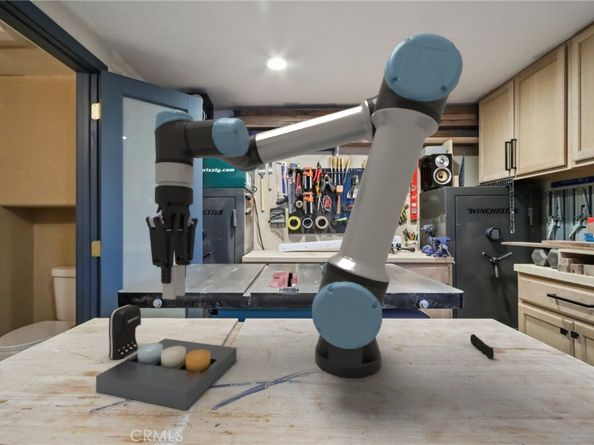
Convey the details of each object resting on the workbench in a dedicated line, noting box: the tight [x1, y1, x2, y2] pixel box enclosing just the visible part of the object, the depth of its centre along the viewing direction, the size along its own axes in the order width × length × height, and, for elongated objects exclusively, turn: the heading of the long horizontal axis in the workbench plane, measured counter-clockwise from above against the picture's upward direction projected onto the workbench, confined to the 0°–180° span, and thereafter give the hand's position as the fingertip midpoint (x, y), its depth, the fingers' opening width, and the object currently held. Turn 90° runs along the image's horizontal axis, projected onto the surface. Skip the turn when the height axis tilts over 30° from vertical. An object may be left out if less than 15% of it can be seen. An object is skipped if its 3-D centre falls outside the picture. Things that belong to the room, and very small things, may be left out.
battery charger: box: [108, 304, 142, 360], centre depth 68 cm, size 7×4×11 cm, turn 171°
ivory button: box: [161, 346, 186, 369], centre depth 58 cm, size 5×5×3 cm
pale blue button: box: [137, 342, 163, 365], centre depth 60 cm, size 5×5×3 cm
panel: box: [95, 338, 238, 411], centre depth 58 cm, size 20×18×3 cm
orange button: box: [186, 349, 210, 373], centre depth 57 cm, size 5×5×3 cm
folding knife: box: [469, 333, 495, 360], centre depth 69 cm, size 10×1×3 cm, turn 172°
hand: (173, 296), depth 58 cm, fingers open, 2 cm apart
